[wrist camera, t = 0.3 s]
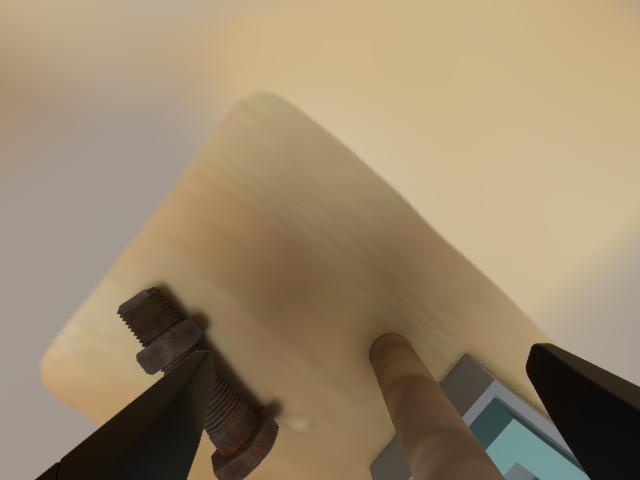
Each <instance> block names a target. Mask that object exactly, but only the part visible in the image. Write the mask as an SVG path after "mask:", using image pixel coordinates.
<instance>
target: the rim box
mask: <svg viewBox="0 0 640 480" xmlns="http://www.w3.org/2000/svg"><path fill="white" fill-rule="evenodd" d="M439 386H440V388H441V389H442V390H443V392H444V393H445V395H446V396H447V398H448V399H449V400H450V402H451V403H452V405H453V406H454V407H455V409H456V410H457V412H458V413H459V414H460V416H461V417H462V419H463V420H464V421H465V423H466V424H467V426H468V427H469V429H470V430H471V431H472V433H473V434H474V436H475V437H476V438H477V440H478V441H479V443H480V444H481V445H482V447H483V448H484V450H485V451H486V453H487V454H488V455H489V457H490V458H491V460H492V461H493V462H494V464H495V465H496V467H497V468H498V469H499V471H500V472H501V474H502V475H503V477H504V478H505V479H506V480H590V479H589V477H588V476H587V474H586V473H585V471H584V470H583V468H582V467H581V465H580V464H579V462H578V461H577V459H576V458H575V456H574V455H573V453H572V452H571V450H570V449H569V447H568V446H567V444H566V442H565V441H564V439H563V438H562V436H561V435H560V433H559V431H558V430H557V428H556V426H555V425H554V423H553V421H552V420H551V419H550V418H549V417H547V416H546V415H545V414H544V413H542V412H541V411H540V410H538V409H537V408H536V407H535V406H533V405H532V404H531V403H529V402H528V401H527V400H526V399H524V398H523V397H522V396H520V395H519V394H518V393H517V392H515V391H514V390H513V389H511V388H510V387H509V386H508V385H506V384H505V383H504V382H502V381H501V380H500V379H499V378H497V377H496V376H495V375H493V374H492V373H491V372H490V371H488V370H487V369H486V368H484V367H483V366H482V365H481V364H479V363H478V362H477V361H475V360H474V359H473V358H472V357H470V356H469V355H468V354H466V355H465V356H464V357H463V358H462V359H461V361H460V362H459V363H458V364H457V365H456V366H455V368H454V369H453V370H452V371H451V372H450V374H449V375H448V376H447V377H446V378H445V379H444V381H443V382H442V383H441V384H440V385H439ZM370 469H371V474H372V478H373V480H413V477H412V474H411V472H410V469H409V466H408V463H407V461H406V458H405V455H404V452H403V449H402V447H401V444H400V441H399V438H398V436H396V437H395V438H394V439H393V440H392V442H391V443H390V444H389V445H388V446H387V448H386V449H385V450H384V451H383V452H382V453H381V455H380V456H379V457H378V458H377V459H376V460H375V462H374V463H373V464H372V465H371V466H370Z"/></svg>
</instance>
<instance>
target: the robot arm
mask: <svg viewBox="0 0 640 480" xmlns="http://www.w3.org/2000/svg"><path fill="white" fill-rule="evenodd" d="M526 372H527V375H528V377H529V379H530V381H531V383H532V384H533V386H534V388H535V390H536V392H537V394H538V395H539V397H540V399H541V401H542V403H543V405H544V406H545V408H546V410H547V412H548V414H549V416H550V417H551V419H552V421H553V423H554V425H555V426H556V428H557V430H558V431H559V433H560V435H561V436H562V438H563V439H564V441H565V442H566V444H567V446H568V447H569V449H570V450H571V452H572V453H573V455H574V456H575V458H576V459H577V461H578V462H579V464H580V465H581V467H582V468H583V470H584V471H585V473H586V474H587V476H588V477H589V479H590V480H640V387H639V386H637V385H635V384H633V383H631V382H629V381H627V380H625V379H622V378H621V377H619V376H617V375H614V374H612V373H610V372H608V371H606V370H604V369H602V368H600V367H598V366H596V365H594V364H592V363H590V362H588V361H586V360H584V359H582V358H579V357H578V356H576V355H574V354H571V353H569V352H567V351H565V350H563V349H561V348H559V347H557V346H555V345H553V344H550V343H536V344H534V345H533V346H532V347H531V350H530V353H529V357H528V360H527V363H526ZM214 383H215V369H214V363H213V358H212V354H211V352H210V351H195V352H193V353H192V354H191V355H189V356H188V357H187V358H186V359H185V360H183V361H182V362H181V363H180V364H178V365H177V366H176V367H175V368H173V369H172V370H171V371H170V372H168V373H167V374H166V375H165V376H163V377H162V378H161V379H160V380H158V381H157V382H156V383H155V384H153V385H152V386H151V387H150V388H149V389H147V390H146V391H145V392H144V393H142V394H141V395H140V396H139V397H137V398H136V399H135V400H134V401H132V402H131V403H130V404H129V405H127V406H126V407H125V408H124V409H122V410H121V411H120V412H119V413H117V414H116V415H115V416H114V417H112V418H111V419H110V420H109V421H108V422H106V423H105V424H104V425H103V426H101V427H100V428H99V429H98V430H96V431H95V432H94V433H93V434H91V435H90V436H89V437H88V438H86V439H85V440H84V441H83V442H81V443H80V444H79V445H78V446H76V447H75V448H74V449H73V450H71V451H70V452H69V453H68V454H67V455H65V456H64V457H63V458H62V459H61V460H60V462H57V463H55V464H54V465H53V466H51V468H49V469H48V470H46V471H45V472H44V473H43V474H42V475H40V476H39V477H38V478H36V479H35V480H187V477H188V474H189V472H190V469H191V466H192V463H193V460H194V457H195V455H196V452H197V449H198V446H199V443H200V440H201V436H202V432H203V428H204V424H205V420H206V416H207V412H208V408H209V404H210V400H211V396H212V392H213V387H214Z"/></svg>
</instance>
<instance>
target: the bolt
mask: <svg viewBox="0 0 640 480" xmlns="http://www.w3.org/2000/svg"><path fill="white" fill-rule="evenodd" d="M159 292H160V289H159V290H157V289H156V288H155V287H152V288H150V289H147V290H144V291H142V292H140V293H139V294H137V295H136V296H134V297H132V298H131V299H129V300H128V301H126V302H125V303H123V304H122V305H120V306H119V309H118V312H117V314H121V315H120V318H123V320H122V321H126V323H125V325H129V326H128V328H131V331H130V332H135V333H134V335H133V336H137V338H136V339H140V341H139V343H143V344H142V347H145V348H144V349H143V350H142V351H140V352H139V353H138V354H137V356H136V358H137V361H138V363H139V364H140V365H141V367H142V368H143V369H144V370H145V372H146V373H147V374H150V375H153V374H155V373H156V372H158V371H160V370H161V369H162V370H161V372H164V375H166V374H167V373H168V372H170V371H171V370H172V369H173V368H175V367H176V366H177V365H178V364H180V363H181V362H182V361H183V360H185V359H186V358H187V357H188V356H189V355H191V354H192V353H193V352H195V351H206V350H203V347H200V345H201V344H197V343H198V341H199V340H200V339H201V338H202V337H203V335H204V334H203V333H202V331H201V330H200V329H199V327H198V326H197V325H196V323H195V322H194V321H193V319H192V318H191V317H188V318H187V319H185V320H184V321H183V320H180V317H177V315H178V313H176V314H175V310H172V309H173V307H170V303H167V301H168V300H164V299H165V296H162V294H163V293H159ZM213 362H214V361H213ZM214 369H215V383H214V387H213V392H212V396H211V400H210V404H209V408H208V412H207V416H206V420H205V424H204V430H206V432H207V433H208V435H209V438H210V440H211V441H212V443H213V444H214V445H215V447H216V448H217V449H216V451H215V452H214V453H213V455H212V456H211V459H212V465H213V471H214V474H215V476H216V477H217V478H218V480H243V479H244V478H245V477H247V476H248V475H249V474H250V473H251V472H252V471H253V470H254V469H255V468H256V467H257V466H258V465H259V464H260V463H261V461H262V460H263V459H264V458H265V457H266V456H267V454H268V453H269V452H270V450H271V449H272V447H273V445H274V443H275V440H276V437H277V433H278V429H279V426H278V425H277V423H276V422H275V421H274V419H273V418H272V417H271V415H270V414H269V413H268V412H267V411H266V410H265V409H264V407H262V408H260V409H259V410H258V411H256V412H255V413H254V412H253V411H252V410H251V408H250V407H249V406H248V404H247V403H246V402H244V401H243V400H242V399H241V397H240V396H239V395H238V393H236V390H234V388H233V387H231V384H230V383H229V381H228V380H226V377H223V376H224V375H223V374H222V373H221V371H220V370H218V367H216V364H215V363H214ZM225 380H226V381H225ZM228 383H229V384H228Z"/></svg>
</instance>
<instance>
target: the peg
mask: <svg viewBox="0 0 640 480" xmlns="http://www.w3.org/2000/svg"><path fill="white" fill-rule="evenodd" d="M370 361H371V364H372V366H373V369H374V372H375V375H376V377H377V380H378V383H379V386H380V389H381V391H382V394H383V397H384V400H385V402H386V405H387V408H388V411H389V413H390V416H391V419H392V422H393V425H394V427H395V430H396V433H397V436H398V438H399V441H400V444H401V447H402V449H403V452H404V455H405V458H406V461H407V463H408V466H409V469H410V472H411V474H412V477H413V480H506V479H505V478H504V477H503V475H502V474H501V472H500V471H499V469H498V468H497V467H496V465H495V464H494V462H493V461H492V460H491V458H490V457H489V455H488V454H487V453H486V451H485V450H484V448H483V447H482V445H481V444H480V443H479V441H478V440H477V438H476V437H475V436H474V434H473V433H472V431H471V430H470V429H469V427H468V426H467V424H466V423H465V421H464V420H463V419H462V417H461V416H460V414H459V413H458V412H457V410H456V409H455V407H454V406H453V405H452V403H451V402H450V400H449V399H448V398H447V396H446V395H445V393H444V392H443V390H442V389H441V388H440V386H439V385H438V383H437V382H436V381H435V379H434V378H433V376H432V375H431V374H430V372H429V371H428V369H427V368H426V366H425V365H424V364H423V362H422V361H421V359H420V358H419V357H418V355H417V354H416V352H415V351H414V350H413V348H412V347H411V345H410V344H409V342H408V341H407V340H406V339H405V338H403V337H402V336H400V335H397V334H386V335H383V336H381V337H379V338H378V339H377V340H376V341H375V342H374V343H373V344H372V346H371V349H370Z"/></svg>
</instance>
